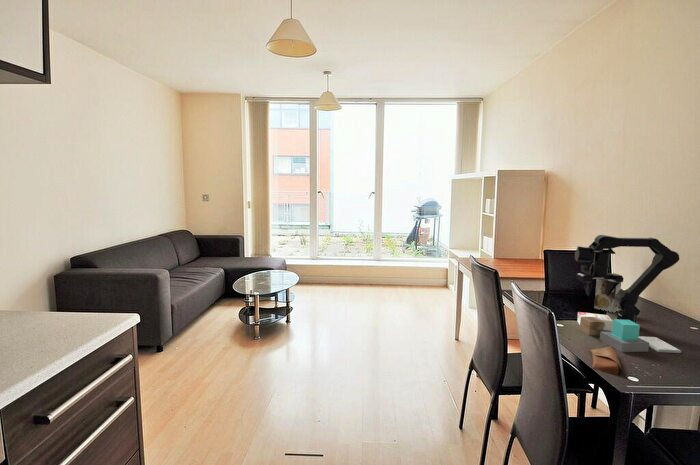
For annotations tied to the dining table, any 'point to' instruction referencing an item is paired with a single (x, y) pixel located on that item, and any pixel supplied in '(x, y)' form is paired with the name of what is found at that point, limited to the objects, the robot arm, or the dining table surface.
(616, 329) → the teal block
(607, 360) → the sunglasses case
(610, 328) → the ink cartridge box
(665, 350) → the external hard drive
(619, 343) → the charcoal plinth
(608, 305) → the coffee box
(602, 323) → the walnut block
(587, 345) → the dining table surface
